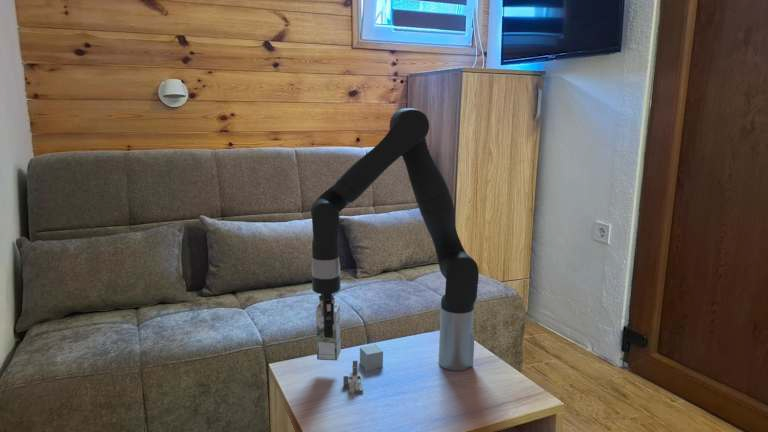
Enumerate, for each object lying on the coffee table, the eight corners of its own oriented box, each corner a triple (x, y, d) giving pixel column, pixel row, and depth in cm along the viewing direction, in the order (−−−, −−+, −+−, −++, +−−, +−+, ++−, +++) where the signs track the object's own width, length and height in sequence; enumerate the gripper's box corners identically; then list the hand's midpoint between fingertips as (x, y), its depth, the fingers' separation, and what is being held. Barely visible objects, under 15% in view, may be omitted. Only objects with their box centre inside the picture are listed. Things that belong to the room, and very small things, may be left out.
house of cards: (331, 377, 147) (331, 351, 146) (362, 377, 148) (363, 351, 146) (329, 395, 138) (329, 367, 137) (363, 394, 139) (363, 367, 137)
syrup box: (341, 351, 150) (340, 302, 147) (337, 361, 145) (336, 310, 142) (321, 350, 151) (319, 302, 148) (316, 360, 145) (315, 310, 142)
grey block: (375, 360, 157) (375, 344, 156) (382, 367, 153) (383, 351, 152) (359, 363, 155) (359, 347, 154) (366, 371, 151) (366, 354, 150)
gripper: (343, 280, 137) (344, 341, 140) (337, 264, 150) (338, 320, 154) (313, 282, 135) (315, 344, 139) (310, 266, 149) (312, 322, 153)
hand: (327, 331), depth 146 cm, fingers closed on syrup box, 6 cm apart
